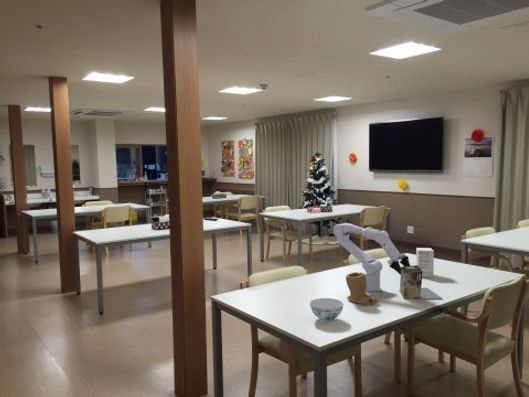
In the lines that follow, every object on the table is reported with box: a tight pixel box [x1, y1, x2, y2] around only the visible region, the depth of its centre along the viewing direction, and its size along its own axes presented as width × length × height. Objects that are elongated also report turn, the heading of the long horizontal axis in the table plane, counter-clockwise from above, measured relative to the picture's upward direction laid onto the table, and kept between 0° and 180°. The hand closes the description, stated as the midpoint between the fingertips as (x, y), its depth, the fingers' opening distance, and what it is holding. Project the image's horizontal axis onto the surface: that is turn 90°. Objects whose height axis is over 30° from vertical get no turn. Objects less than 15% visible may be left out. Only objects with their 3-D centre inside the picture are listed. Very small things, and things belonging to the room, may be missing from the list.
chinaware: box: [309, 297, 345, 323], centre depth 196 cm, size 15×15×8 cm
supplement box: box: [415, 247, 435, 278], centre depth 271 cm, size 10×9×17 cm
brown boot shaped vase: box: [345, 272, 380, 306], centre depth 220 cm, size 15×12×15 cm
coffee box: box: [399, 264, 423, 299], centre depth 225 cm, size 9×6×16 cm
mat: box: [417, 287, 443, 301], centre depth 233 cm, size 11×20×1 cm, turn 1°
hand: (406, 272), depth 229 cm, fingers open, 7 cm apart
